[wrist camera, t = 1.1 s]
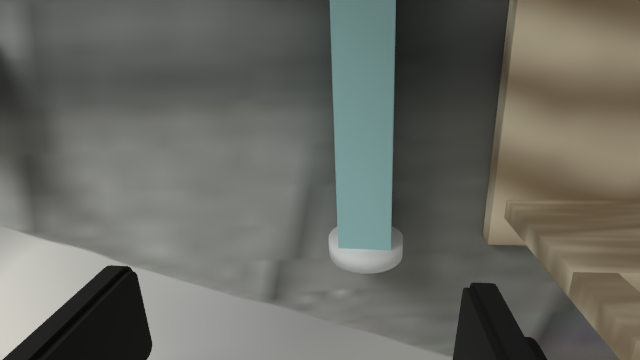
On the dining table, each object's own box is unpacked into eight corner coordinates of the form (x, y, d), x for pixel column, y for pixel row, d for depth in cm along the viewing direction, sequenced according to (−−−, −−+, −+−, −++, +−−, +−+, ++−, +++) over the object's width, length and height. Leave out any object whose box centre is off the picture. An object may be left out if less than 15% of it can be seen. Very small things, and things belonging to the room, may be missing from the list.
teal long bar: (321, -90, 26) (304, -126, 20) (411, -100, 25) (419, -140, 19) (334, 234, 34) (324, 271, 29) (401, 236, 33) (404, 275, 28)
